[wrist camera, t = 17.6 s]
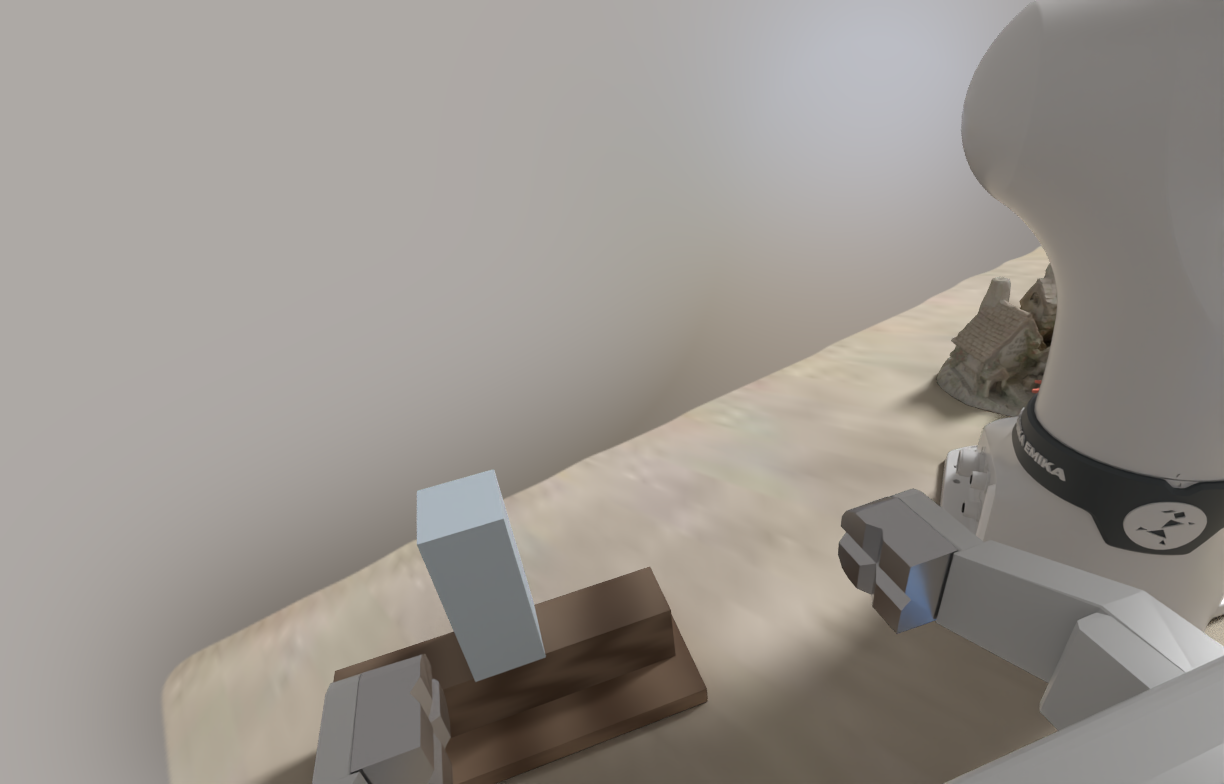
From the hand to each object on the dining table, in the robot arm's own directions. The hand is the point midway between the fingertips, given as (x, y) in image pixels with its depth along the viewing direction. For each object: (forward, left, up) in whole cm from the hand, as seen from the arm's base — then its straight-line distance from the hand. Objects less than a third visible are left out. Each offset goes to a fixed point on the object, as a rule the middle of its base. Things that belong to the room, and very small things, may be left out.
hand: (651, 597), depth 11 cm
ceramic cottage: (-58, +26, -30) cm, 71 cm away
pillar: (-12, -15, -23) cm, 31 cm away
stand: (-12, -15, -30) cm, 36 cm away
